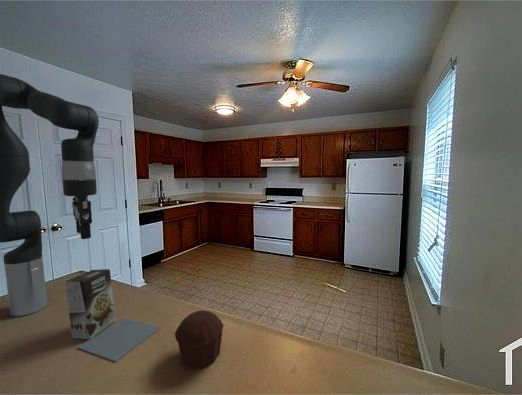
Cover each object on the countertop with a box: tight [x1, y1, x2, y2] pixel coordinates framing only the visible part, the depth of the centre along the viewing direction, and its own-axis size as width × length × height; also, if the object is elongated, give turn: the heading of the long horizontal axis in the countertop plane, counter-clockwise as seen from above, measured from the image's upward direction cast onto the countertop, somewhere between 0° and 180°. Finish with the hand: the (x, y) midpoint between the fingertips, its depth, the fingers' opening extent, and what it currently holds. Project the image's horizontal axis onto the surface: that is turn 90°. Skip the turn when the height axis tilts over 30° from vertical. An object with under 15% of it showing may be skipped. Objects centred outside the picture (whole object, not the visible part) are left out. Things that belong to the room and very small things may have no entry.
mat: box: [77, 317, 161, 363], centre depth 68 cm, size 14×14×1 cm
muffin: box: [174, 310, 224, 369], centre depth 60 cm, size 12×11×10 cm
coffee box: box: [65, 268, 117, 340], centre depth 71 cm, size 9×6×16 cm
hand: (83, 235), depth 71 cm, fingers open, 8 cm apart
